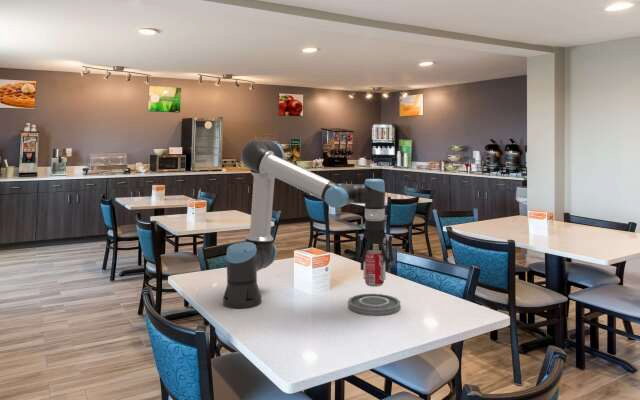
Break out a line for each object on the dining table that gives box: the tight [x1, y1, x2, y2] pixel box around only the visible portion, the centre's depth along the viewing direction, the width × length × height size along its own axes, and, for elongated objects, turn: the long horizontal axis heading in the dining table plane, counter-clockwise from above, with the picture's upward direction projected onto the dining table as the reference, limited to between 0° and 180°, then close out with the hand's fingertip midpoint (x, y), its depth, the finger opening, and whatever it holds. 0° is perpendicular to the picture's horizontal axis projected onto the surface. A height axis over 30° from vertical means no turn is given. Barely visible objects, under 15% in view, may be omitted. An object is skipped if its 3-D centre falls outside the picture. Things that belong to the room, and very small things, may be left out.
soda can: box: [364, 249, 385, 288], centre depth 181 cm, size 7×7×13 cm
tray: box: [347, 293, 401, 317], centre depth 182 cm, size 20×20×2 cm
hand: (374, 278), depth 181 cm, fingers closed on soda can, 7 cm apart
